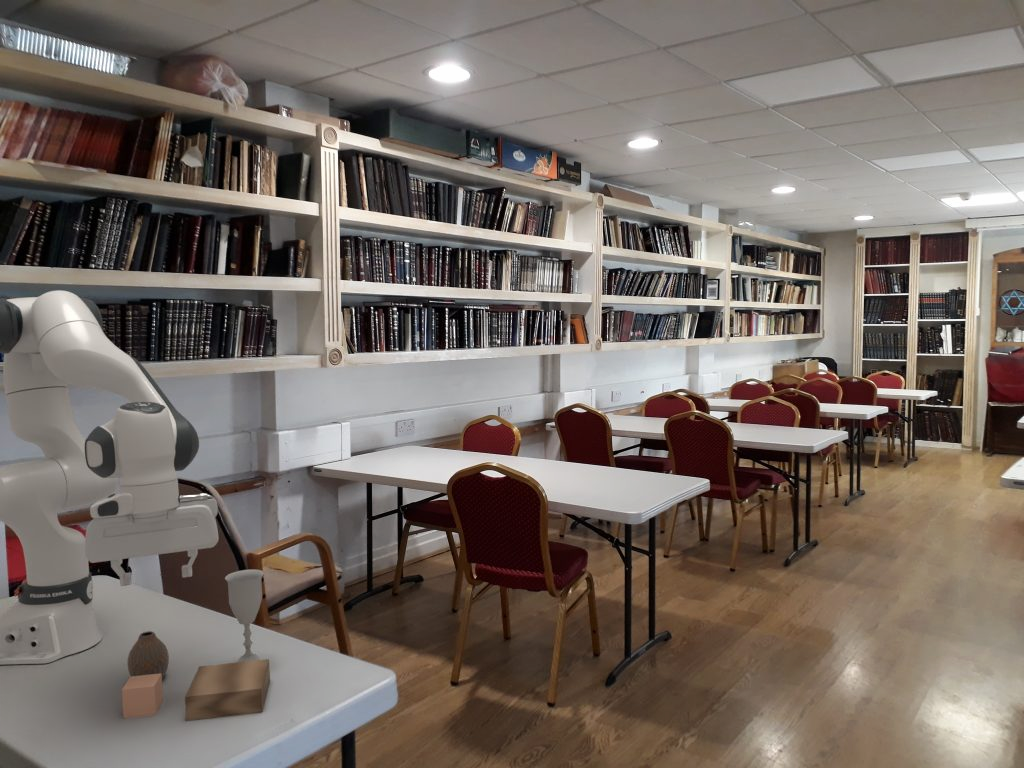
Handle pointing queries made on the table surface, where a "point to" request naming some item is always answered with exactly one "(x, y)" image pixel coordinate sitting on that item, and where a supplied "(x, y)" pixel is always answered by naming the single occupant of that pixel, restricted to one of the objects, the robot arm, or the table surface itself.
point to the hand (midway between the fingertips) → (157, 580)
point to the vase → (148, 656)
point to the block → (142, 695)
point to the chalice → (245, 603)
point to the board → (228, 689)
